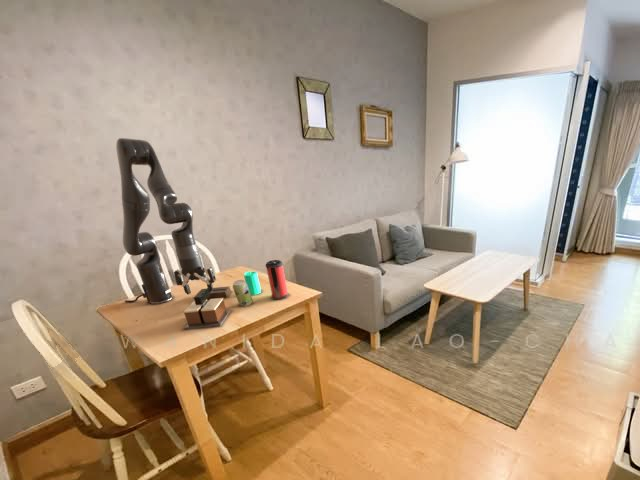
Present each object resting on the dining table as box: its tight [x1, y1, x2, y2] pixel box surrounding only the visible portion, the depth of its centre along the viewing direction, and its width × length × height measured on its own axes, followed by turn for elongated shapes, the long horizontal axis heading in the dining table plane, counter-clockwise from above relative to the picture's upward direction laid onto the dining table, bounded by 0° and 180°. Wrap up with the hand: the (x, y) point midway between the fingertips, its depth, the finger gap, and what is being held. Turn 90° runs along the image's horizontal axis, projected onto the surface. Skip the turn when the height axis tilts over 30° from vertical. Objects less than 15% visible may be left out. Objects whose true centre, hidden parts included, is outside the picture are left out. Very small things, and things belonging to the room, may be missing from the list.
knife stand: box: [206, 286, 232, 300], centre depth 166 cm, size 11×8×3 cm
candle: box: [243, 270, 262, 296], centre depth 166 cm, size 6×6×12 cm
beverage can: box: [232, 279, 253, 307], centre depth 153 cm, size 6×7×12 cm
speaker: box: [265, 259, 289, 300], centre depth 160 cm, size 8×8×18 cm
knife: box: [193, 288, 210, 322], centre depth 140 cm, size 9×2×12 cm, turn 9°
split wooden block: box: [183, 298, 231, 330], centre depth 141 cm, size 14×14×7 cm
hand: (200, 292), depth 137 cm, fingers open, 8 cm apart
